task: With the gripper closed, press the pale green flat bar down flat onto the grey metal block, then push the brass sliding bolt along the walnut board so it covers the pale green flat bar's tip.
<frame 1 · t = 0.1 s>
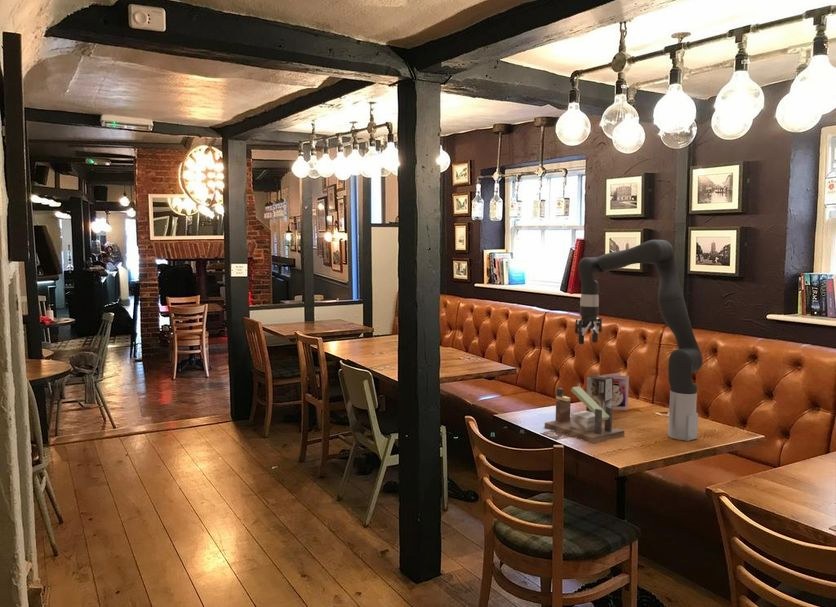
hand: (588, 343, 280), 29 cm above the table, tool pointing down, fingers open, 8 cm apart
coffee box: (599, 415, 277), on the table
pale green flat bar: (589, 403, 249), point 12 cm above the table, hinge at 30.0°
bolt: (562, 394, 260), point 12 cm above the table, slide at 0.0 cm
greeting card: (612, 408, 289), on the table
latch base: (583, 431, 252), on the table
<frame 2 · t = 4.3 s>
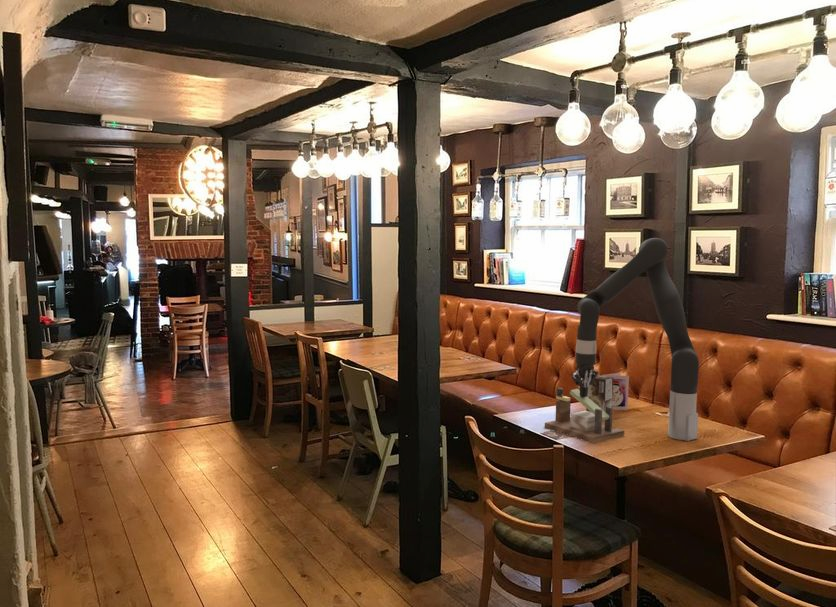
hand: (583, 396, 252), 13 cm above the table, tool pointing down, fingers closed
pale green flat bar: (589, 404, 250), point 11 cm above the table, hinge at 25.0°, touching gripper
everything else where it was.
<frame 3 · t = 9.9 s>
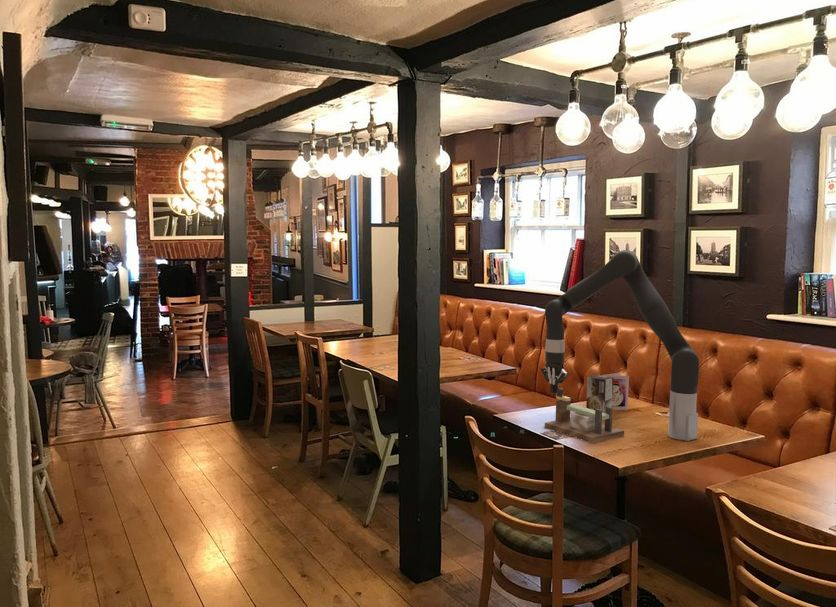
hand: (553, 393, 264), 12 cm above the table, tool pointing down, fingers closed
pale green flat bar: (587, 411, 250), point 8 cm above the table, hinge at 1.0°
bolt: (563, 394, 260), point 12 cm above the table, slide at 0.1 cm, touching gripper
everything else where it was.
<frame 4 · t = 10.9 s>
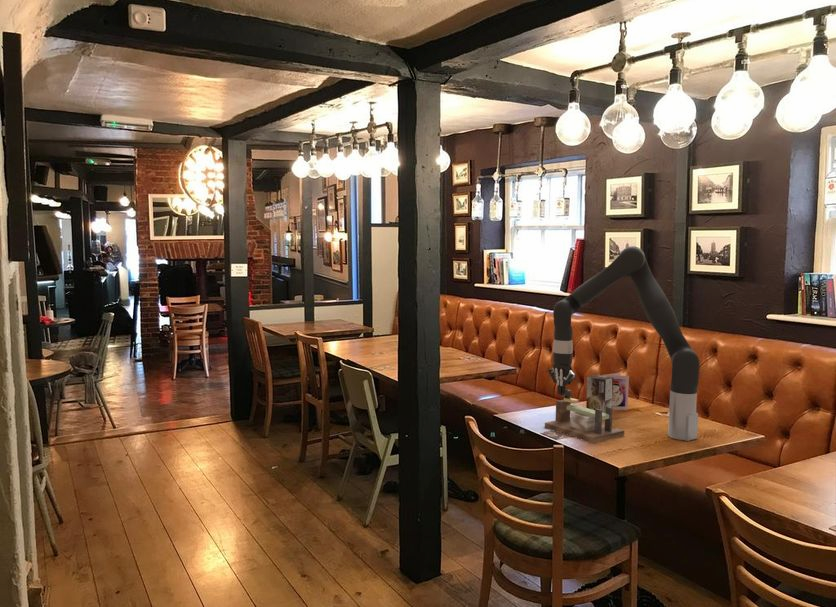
hand: (561, 394, 261), 12 cm above the table, tool pointing down, fingers closed
bolt: (570, 396, 257), point 12 cm above the table, slide at 4.0 cm, touching gripper
everything else where it was.
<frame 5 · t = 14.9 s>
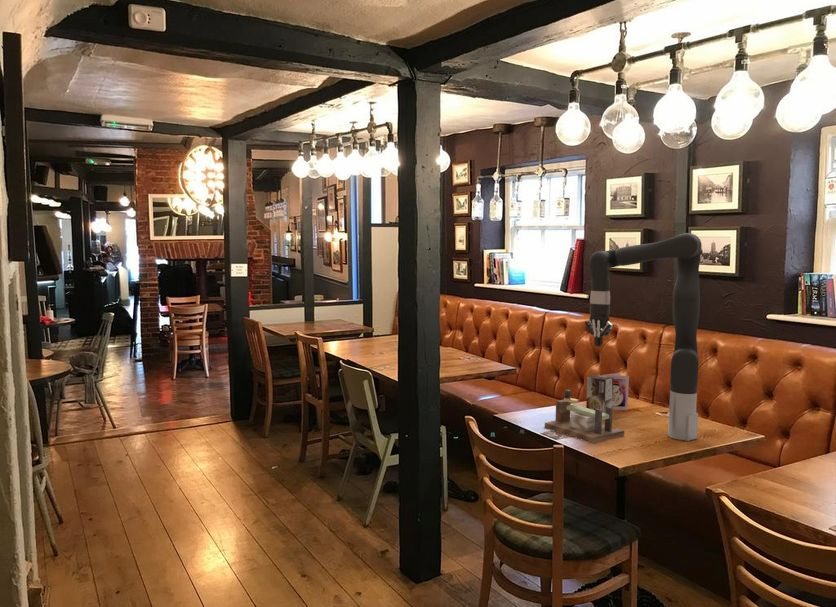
hand: (598, 346, 261), 31 cm above the table, tool pointing down, fingers closed
bolt: (570, 396, 257), point 12 cm above the table, slide at 4.0 cm
everything else where it was.
at the end: pale green flat bar at +1° (first picture: +30°); bolt slide at 4.0 cm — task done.
